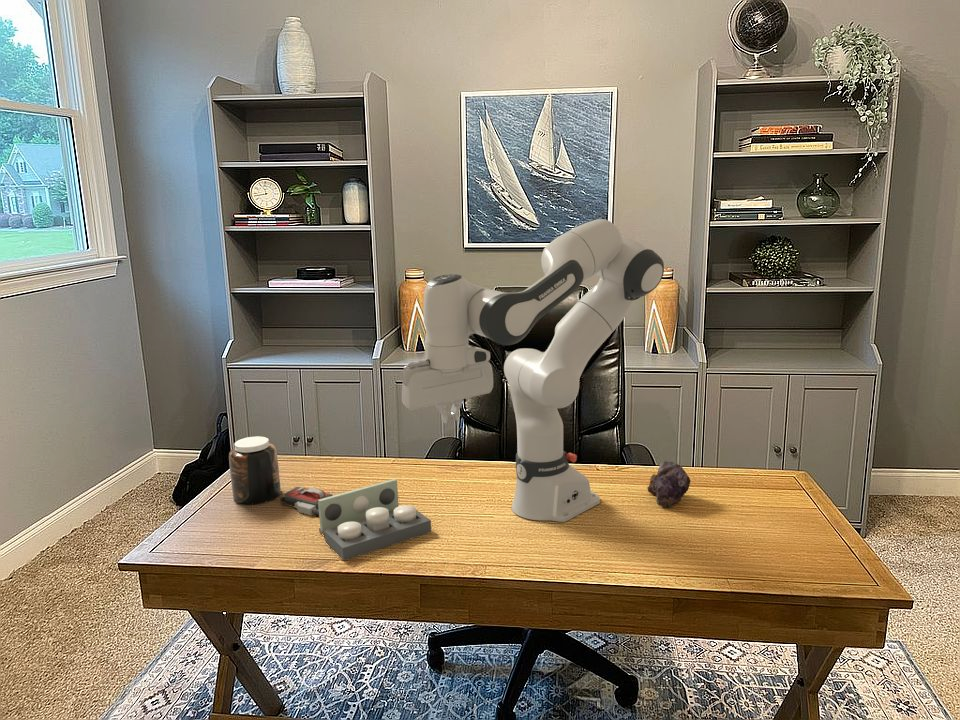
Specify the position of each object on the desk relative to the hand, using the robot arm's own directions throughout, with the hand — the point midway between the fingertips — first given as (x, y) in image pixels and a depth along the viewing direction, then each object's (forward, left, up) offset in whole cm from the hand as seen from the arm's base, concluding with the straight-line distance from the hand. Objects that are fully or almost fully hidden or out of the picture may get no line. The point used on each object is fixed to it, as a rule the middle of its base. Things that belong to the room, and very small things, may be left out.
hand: (449, 421), depth 156 cm
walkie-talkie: (+14, -43, -32) cm, 55 cm away
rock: (-59, +7, -31) cm, 67 cm away
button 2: (+2, -18, -31) cm, 36 cm away
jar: (+24, -59, -31) cm, 71 cm away
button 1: (+16, -18, -31) cm, 39 cm away
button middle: (+9, -18, -29) cm, 36 cm away
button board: (+9, -18, -31) cm, 37 cm away
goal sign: (+9, -28, -31) cm, 43 cm away
